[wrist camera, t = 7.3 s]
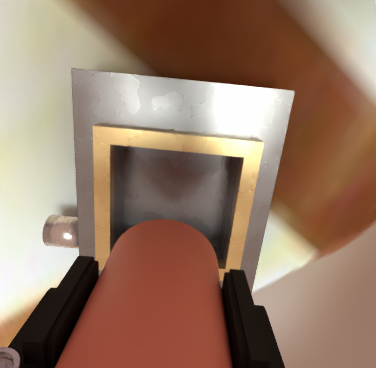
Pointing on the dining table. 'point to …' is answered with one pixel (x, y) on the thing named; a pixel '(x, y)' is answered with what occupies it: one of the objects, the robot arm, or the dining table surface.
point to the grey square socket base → (173, 162)
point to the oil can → (154, 304)
